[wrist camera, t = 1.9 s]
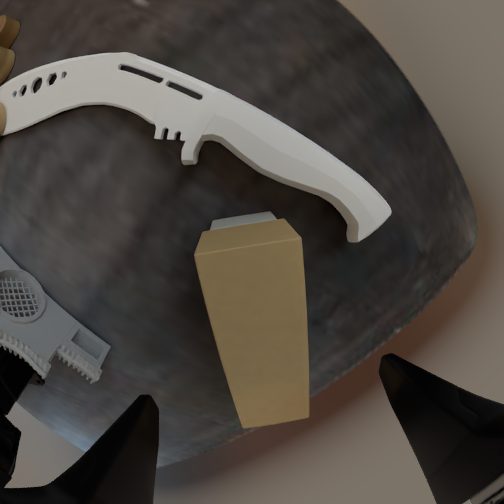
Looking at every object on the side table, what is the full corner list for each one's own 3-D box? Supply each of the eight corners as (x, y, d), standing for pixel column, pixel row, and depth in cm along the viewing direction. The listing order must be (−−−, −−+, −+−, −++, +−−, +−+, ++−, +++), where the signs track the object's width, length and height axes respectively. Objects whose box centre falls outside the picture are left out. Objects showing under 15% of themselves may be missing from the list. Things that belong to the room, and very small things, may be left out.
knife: (-41, 121, 8) (-1, 27, 6) (-28, 120, 10) (11, 31, 7) (317, 328, 14) (401, 205, 12) (310, 312, 15) (386, 199, 13)
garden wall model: (116, 345, 16) (85, 410, 10) (107, 358, 16) (78, 420, 10) (-3, 237, 12) (-57, 267, 7) (-7, 255, 13) (-57, 288, 7)
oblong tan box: (238, 369, 17) (242, 429, 12) (206, 221, 13) (193, 254, 9) (292, 360, 17) (309, 417, 12) (276, 209, 14) (301, 237, 9)
